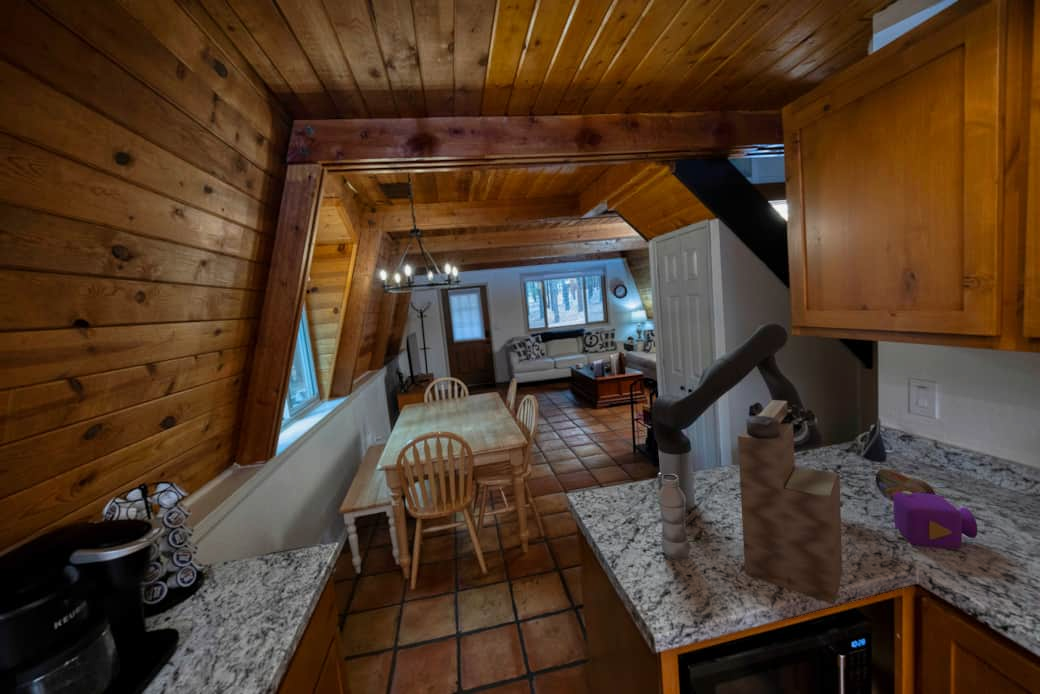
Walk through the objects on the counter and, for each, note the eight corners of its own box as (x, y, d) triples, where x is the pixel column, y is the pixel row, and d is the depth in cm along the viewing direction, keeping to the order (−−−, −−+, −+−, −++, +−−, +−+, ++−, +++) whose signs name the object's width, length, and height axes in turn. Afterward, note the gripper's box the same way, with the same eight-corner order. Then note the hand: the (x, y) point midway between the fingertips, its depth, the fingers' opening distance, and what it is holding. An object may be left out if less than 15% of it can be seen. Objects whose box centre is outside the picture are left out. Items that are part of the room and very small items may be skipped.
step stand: (745, 574, 91) (737, 436, 87) (758, 547, 100) (752, 420, 96) (835, 605, 80) (830, 448, 76) (842, 571, 89) (838, 429, 85)
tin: (874, 492, 118) (874, 464, 117) (885, 490, 118) (885, 463, 117) (927, 519, 103) (927, 487, 102) (939, 517, 103) (939, 486, 102)
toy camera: (991, 553, 89) (991, 510, 88) (917, 552, 92) (917, 510, 91) (950, 526, 100) (950, 487, 99) (885, 525, 103) (884, 488, 101)
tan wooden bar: (743, 436, 87) (742, 422, 87) (766, 411, 102) (765, 399, 101) (776, 440, 83) (775, 426, 83) (794, 413, 97) (794, 401, 97)
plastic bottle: (676, 567, 96) (670, 486, 94) (656, 552, 102) (650, 475, 100) (696, 557, 98) (691, 478, 96) (675, 543, 104) (670, 469, 102)
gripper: (758, 407, 112) (742, 390, 101) (823, 413, 103) (813, 394, 91) (756, 434, 110) (739, 419, 99) (821, 442, 101) (811, 427, 89)
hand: (774, 407), depth 95 cm, fingers open, 7 cm apart
